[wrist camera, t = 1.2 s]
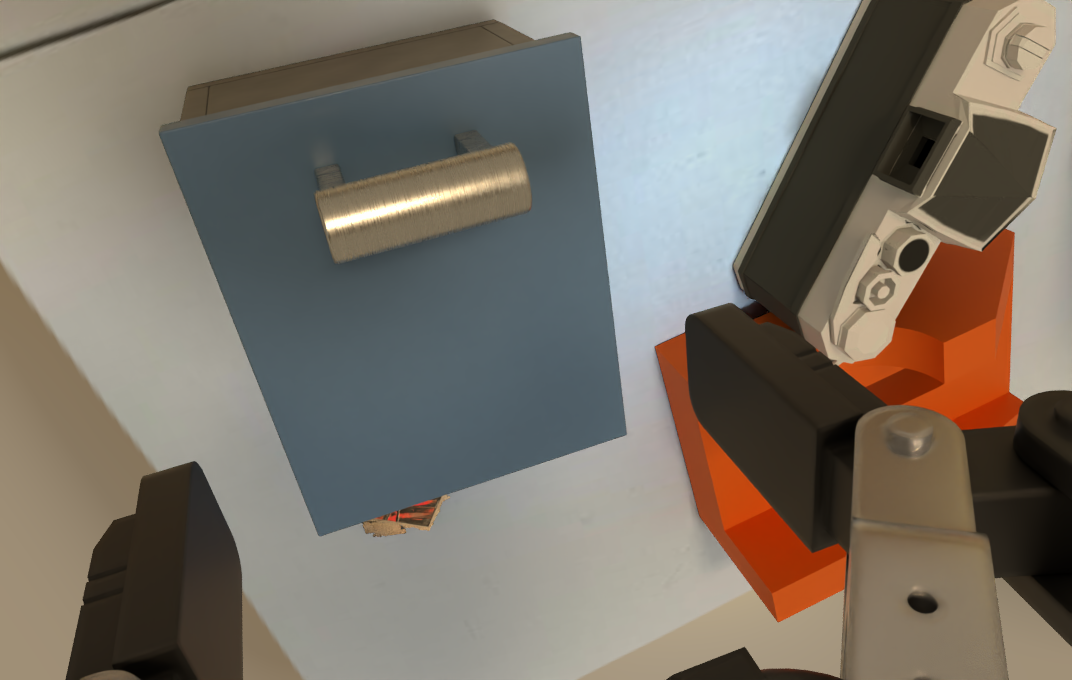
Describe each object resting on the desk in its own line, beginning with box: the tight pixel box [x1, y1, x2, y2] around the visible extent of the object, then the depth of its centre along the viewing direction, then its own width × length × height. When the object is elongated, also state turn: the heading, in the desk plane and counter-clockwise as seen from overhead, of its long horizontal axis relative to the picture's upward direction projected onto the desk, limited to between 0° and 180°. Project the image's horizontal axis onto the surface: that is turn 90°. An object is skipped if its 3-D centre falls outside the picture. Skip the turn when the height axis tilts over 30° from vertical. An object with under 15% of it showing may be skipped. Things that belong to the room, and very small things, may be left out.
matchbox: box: [363, 495, 450, 537], centre depth 41 cm, size 5×5×1 cm
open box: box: [180, 20, 534, 121], centre depth 30 cm, size 14×12×9 cm
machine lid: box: [159, 32, 627, 536], centre depth 24 cm, size 14×12×5 cm
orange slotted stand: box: [655, 229, 1023, 622], centre depth 42 cm, size 18×13×8 cm
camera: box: [733, 0, 1056, 366], centre depth 36 cm, size 16×9×10 cm, turn 158°
